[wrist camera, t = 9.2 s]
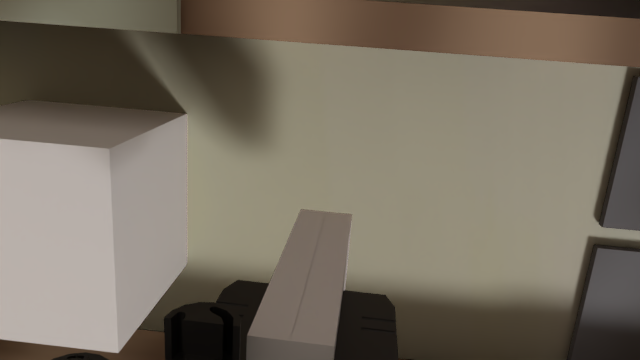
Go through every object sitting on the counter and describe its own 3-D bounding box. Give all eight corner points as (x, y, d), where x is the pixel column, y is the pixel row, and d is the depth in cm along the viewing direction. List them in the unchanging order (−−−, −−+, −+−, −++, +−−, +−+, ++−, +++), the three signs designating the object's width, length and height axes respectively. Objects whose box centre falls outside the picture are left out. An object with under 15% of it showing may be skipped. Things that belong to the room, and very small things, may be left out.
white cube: (43, 248, 21) (-82, 330, 15) (30, 99, 19) (-116, 127, 13) (189, 263, 20) (118, 354, 15) (188, 112, 19) (109, 148, 13)
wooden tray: (982, 48, 16) (1165, 53, 12) (822, 432, 20) (923, 522, 16) (-119, -27, 18) (-240, -42, 15) (-62, 331, 22) (-146, 390, 19)
